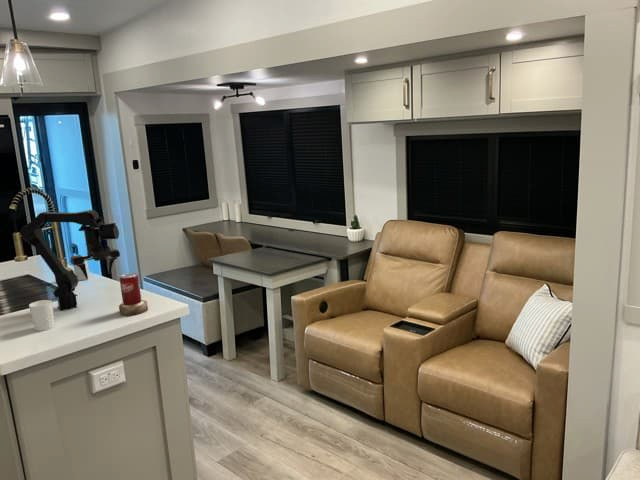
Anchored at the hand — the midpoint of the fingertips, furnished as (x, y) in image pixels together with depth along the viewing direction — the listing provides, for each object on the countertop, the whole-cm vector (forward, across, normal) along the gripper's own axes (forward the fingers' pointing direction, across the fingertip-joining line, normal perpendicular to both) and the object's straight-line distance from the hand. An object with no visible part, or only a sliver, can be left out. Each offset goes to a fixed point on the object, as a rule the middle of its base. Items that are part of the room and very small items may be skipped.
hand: (98, 276), depth 224 cm
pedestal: (+13, +7, -18) cm, 24 cm away
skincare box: (+13, +6, +53) cm, 55 cm away
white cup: (+13, -25, -11) cm, 30 cm away
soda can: (+10, +7, -18) cm, 22 cm away
